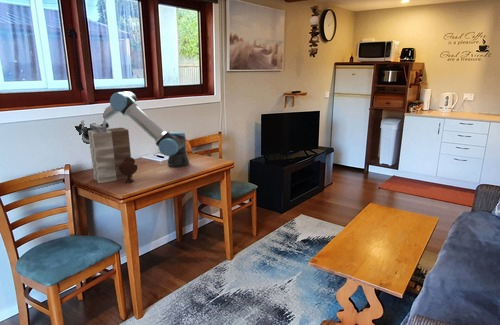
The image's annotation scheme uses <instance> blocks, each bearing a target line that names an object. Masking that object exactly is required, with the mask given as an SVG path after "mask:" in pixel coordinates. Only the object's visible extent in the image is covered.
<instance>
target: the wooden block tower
mask: <svg viewBox="0 0 500 325" xmlns="http://www.w3.org/2000/svg"><path fill="white" fill-rule="evenodd" d="M106 130H107V132H101V133H97V132H95V130H91V131H88V134H89V142H90V146H89V149H90V156H91V157H90V158H91V166H92V172H93V179H94V180H95V181H96V182H97V183H98V184H105V183H110V182H114V181H119V180H125V179H126V180H127V179H128V177H127V175H124V174H122V173H121V172H120V171H119V166H121V164H122V163H123V162H124V160H125V159H126V158H127V157H132V154H131V153H132V151H131V144H130V143H131V142H130V134H129V132H130V131H129V129H127V128H125V127H115V128H113V127H112V128H107V129H106ZM133 175H134V174H132V175H131V176H130V177H131V178H133V177H134V176H133Z"/></svg>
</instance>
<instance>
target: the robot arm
mask: <svg viewBox="0 0 500 325" xmlns="http://www.w3.org/2000/svg"><path fill="white" fill-rule="evenodd" d="M137 98H138V97H137V96H136V94H135V93H133V92H132V91H130V90H128V91H117V92H115V93H113V94H112V95H111V96H110V98H109V106H107V107H105V108H106V109H105V108H104V109H105V111H104V113H103V118H104V121H103V123H102V124H100V125H101V126H105V127H106V129H109V128H110V125H109V122H108V121H109V120H110V119H112V118H113V117H115V116H117V115H119V114H122V115H123V116H124V117H129V118H130V119H131V121H133V122H135V124H136V125H138V126H139V127H140V128H141V129H142V130H143V131H144V132H145V133H146V134H147V135H148V136H149V137H151V138H152V140H154V141H155V145H156V146H157V147H158V150H159V152H160V153H161V154H162V155H164V156H165V157H166V156H167V157H168V158H167V166H168V167H170V168H171V167H173V168H182V167H187V166H189V165H190V160H189V156H188V155H187V144H186V143H187V142H186V138H187V137H186V133H184V132H170V131H165V130H163V129H162V127H160V126H159V125H158V124H157V122H155V121H154V120H153V119H152V118H150V116H148V115H147V114H146V113H145V112H144V111H143V110H142V109H141V108H139V107H138V106H139V105H138V99H137ZM106 120H107V121H106ZM84 121H85V120H81V121H80V122H81V124H79V126H75V128H76V130H77V131H78V132H79V135H81V134H82V133H83V134H82V140H83V142H84V143H86V144H90V142H89V134H88V131H91V130H93V129H91V128H87V127H84V125H85V124H84Z"/></svg>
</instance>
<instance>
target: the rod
mask: <svg viewBox="0 0 500 325" xmlns="http://www.w3.org/2000/svg"><path fill="white" fill-rule="evenodd" d="M90 128H91V129H93V130H95V132H97V133H101V132H107V130H106V127H105V126H101V124H100V125H98V124H96V123H92V124H90Z"/></svg>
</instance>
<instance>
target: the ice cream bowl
mask: <svg viewBox="0 0 500 325" xmlns="http://www.w3.org/2000/svg"><path fill="white" fill-rule="evenodd" d="M135 163H136V160H135V158H134V157H132V156H131V157H127V158H126V159H125V160H124V162H123V163H122V164H121V166H119V171H120V172H121V173H122V174H124V175H127V177H128V178H126V180H124V183H125V184H133V183H135V180H134V179H132V177H130V176H131V175H132V174H133V175H134V174H135V173H136V172H137V171H138V164H135ZM132 182H133V183H132Z"/></svg>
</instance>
